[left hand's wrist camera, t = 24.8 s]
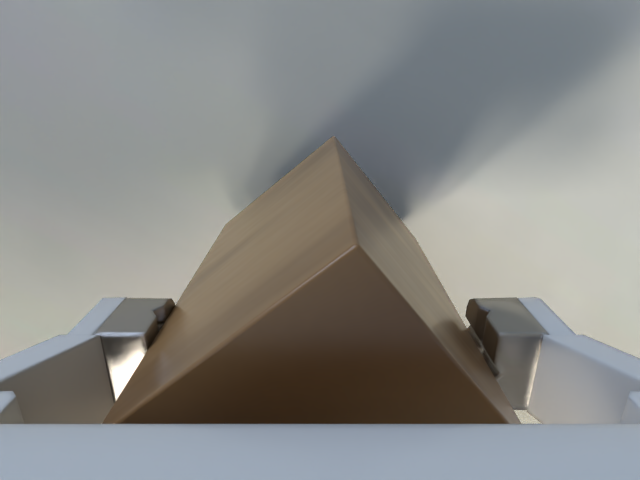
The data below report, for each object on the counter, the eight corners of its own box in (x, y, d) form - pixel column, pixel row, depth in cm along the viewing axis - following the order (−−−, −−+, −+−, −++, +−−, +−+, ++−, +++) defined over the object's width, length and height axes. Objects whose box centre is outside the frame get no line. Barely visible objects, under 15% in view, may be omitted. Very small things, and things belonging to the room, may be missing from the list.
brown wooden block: (416, 238, 15) (548, 469, 6) (309, 314, 17) (297, 600, 8) (333, 135, 14) (357, 242, 5) (224, 224, 15) (89, 442, 6)
